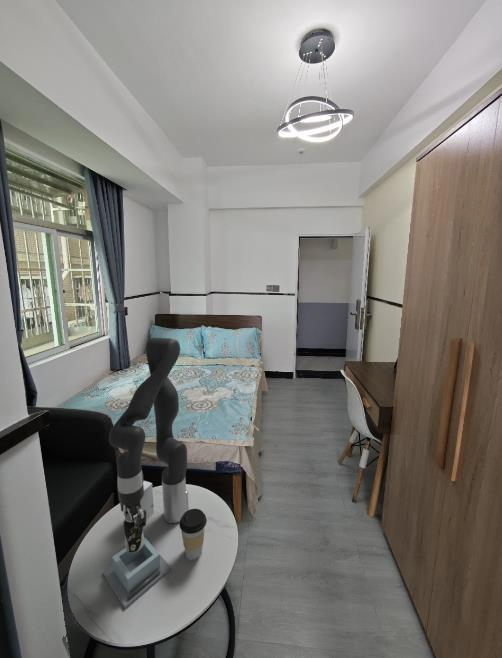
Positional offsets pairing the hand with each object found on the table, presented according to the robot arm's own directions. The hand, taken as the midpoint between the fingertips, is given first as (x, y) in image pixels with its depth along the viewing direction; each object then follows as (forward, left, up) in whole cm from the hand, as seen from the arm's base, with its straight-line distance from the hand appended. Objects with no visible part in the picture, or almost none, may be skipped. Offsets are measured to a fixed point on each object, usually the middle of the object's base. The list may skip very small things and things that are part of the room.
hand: (133, 529), depth 95 cm
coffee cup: (-17, +9, -17) cm, 25 cm away
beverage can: (0, 0, -7) cm, 7 cm away
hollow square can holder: (0, 0, -17) cm, 17 cm away
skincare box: (-12, -19, -17) cm, 28 cm away
